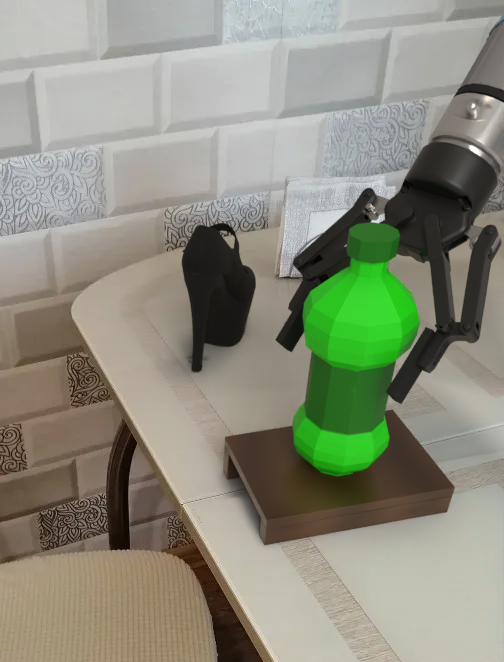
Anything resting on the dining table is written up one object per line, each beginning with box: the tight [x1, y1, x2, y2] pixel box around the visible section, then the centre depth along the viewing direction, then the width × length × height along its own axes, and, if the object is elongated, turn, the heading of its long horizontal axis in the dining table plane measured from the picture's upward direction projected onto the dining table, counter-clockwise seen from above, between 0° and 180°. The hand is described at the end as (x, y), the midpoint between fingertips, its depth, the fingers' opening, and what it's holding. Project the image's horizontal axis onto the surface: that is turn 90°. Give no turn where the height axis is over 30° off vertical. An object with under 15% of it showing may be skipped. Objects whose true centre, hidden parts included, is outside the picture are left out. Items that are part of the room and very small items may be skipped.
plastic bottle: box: [292, 221, 421, 476], centre depth 76 cm, size 10×10×25 cm
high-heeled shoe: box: [181, 222, 257, 373], centre depth 106 cm, size 8×19×20 cm, turn 155°
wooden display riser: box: [222, 409, 456, 546], centre depth 86 cm, size 20×14×5 cm
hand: (335, 371), depth 75 cm, fingers open, 12 cm apart
